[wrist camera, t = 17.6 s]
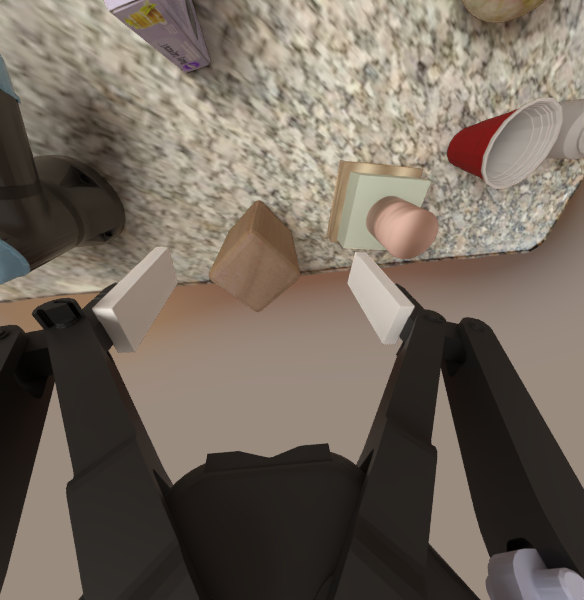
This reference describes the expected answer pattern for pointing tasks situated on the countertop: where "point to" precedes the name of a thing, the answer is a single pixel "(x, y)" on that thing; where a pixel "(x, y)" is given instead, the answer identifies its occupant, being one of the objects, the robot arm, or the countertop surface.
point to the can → (570, 132)
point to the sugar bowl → (500, 9)
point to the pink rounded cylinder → (401, 226)
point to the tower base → (342, 184)
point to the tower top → (364, 195)
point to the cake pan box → (166, 28)
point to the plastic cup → (508, 143)
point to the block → (256, 259)
